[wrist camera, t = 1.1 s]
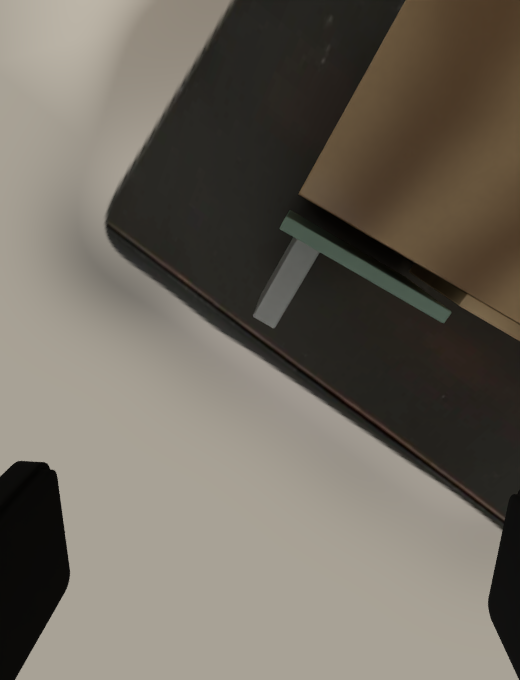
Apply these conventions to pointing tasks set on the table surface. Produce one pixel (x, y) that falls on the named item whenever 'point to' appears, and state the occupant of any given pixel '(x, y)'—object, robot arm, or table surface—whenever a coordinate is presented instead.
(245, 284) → the table surface
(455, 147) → the cabinet
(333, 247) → the sliding door
